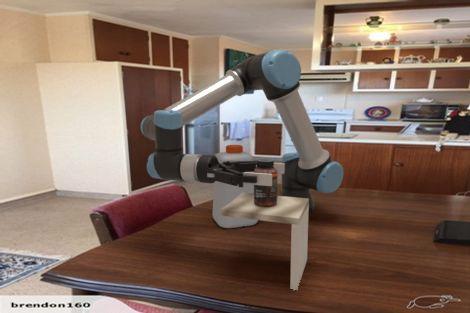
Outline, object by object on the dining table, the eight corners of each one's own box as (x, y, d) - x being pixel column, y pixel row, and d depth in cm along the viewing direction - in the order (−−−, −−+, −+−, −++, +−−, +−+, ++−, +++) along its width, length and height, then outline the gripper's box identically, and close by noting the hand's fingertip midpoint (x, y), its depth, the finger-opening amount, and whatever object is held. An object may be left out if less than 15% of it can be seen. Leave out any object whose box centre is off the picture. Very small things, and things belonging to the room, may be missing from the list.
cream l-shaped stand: (222, 276, 82) (220, 209, 79) (242, 249, 96) (242, 192, 94) (297, 290, 75) (298, 218, 72) (307, 259, 90) (308, 198, 87)
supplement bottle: (279, 201, 85) (280, 158, 83) (274, 208, 79) (275, 162, 78) (256, 199, 87) (257, 157, 85) (250, 205, 81) (251, 161, 79)
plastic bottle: (210, 216, 125) (208, 144, 121) (247, 212, 130) (246, 142, 125) (220, 230, 111) (219, 149, 106) (261, 225, 116) (262, 147, 111)
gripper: (219, 172, 100) (288, 177, 93) (178, 194, 77) (265, 203, 70) (219, 148, 99) (288, 151, 92) (176, 163, 76) (265, 168, 69)
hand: (278, 173), depth 81 cm, fingers open, 13 cm apart
